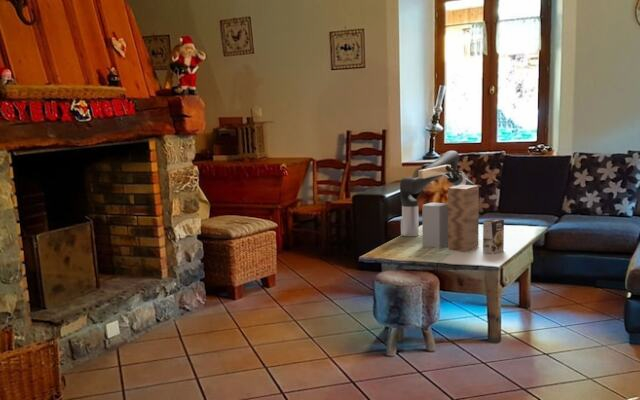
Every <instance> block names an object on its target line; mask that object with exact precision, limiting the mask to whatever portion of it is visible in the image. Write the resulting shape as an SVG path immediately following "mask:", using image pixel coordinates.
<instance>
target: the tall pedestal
mask: <svg viewBox="0 0 640 400" xmlns="http://www.w3.org/2000/svg"><path fill="white" fill-rule="evenodd" d="M476 185H477V184H476ZM476 185H457V186H453V185H452V186H450V187H447V204H448V245H447V250H450V251H454V252H455V251H456V252H462V253H463V252H464V253H467V252H470V251H471V250H474V249H477V248H479V218H480V217H479V215H480V214H479V211H480V210H479V209H480V208H479V206H480V205H479V199H480V198H479V195H480V194H479V192H480V191H479V190H480V187H479V185H477V186H476Z"/></svg>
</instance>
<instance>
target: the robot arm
mask: <svg viewBox="0 0 640 400" xmlns="http://www.w3.org/2000/svg"><path fill="white" fill-rule="evenodd" d="M459 160H460V154H459V153H458V151H456V150H448V151H446V152H444V153H443V154H442V155H441V156H440V157H438V158H437V159H436V160H434V161H433V162H431V163H430V164H428V165H426V166H425V167H424V168H423V169H428V168H433V167H437V166H442V165H446V170H447V171H448V172H449V173H446V174H442V175H438V176H433V177H429V178H425V179H421V178H419V176H417V177H406V176H405V177H402V179H401V180H400V184H399V193H400V202H401V218H400V235H401V236H404V237H417V236H419V232H420V231H419V228H420V227H419V200H418V199H416V198H414V197H413V195H416V194H417V195H418V194H419V193H420V192H421V191H422V190H424V189H425V187H426V186H428V185H429V184H431V183H432V182H434V181H436V179H438V178H440V177H442V176H444V177H445V178H446V179H447V181H448V182H449V184H450V185H452V187H453V186H457V185H476V186H478V185H477V184H476V183H474V182H473V181H471V180H470V179H469V176H467V174H466V173H465V172H464V171H462V170H459V169H458V164H459ZM447 165H451V168H450V167H449V166H447Z"/></svg>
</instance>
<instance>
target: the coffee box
mask: <svg viewBox="0 0 640 400" xmlns="http://www.w3.org/2000/svg"><path fill="white" fill-rule="evenodd" d="M482 222H483V225H482V228H483V229H482V230H483V232H482V233H483V234H482V252H483V253H487V254H491V255H494V254H498V253H502V252H504V249H505V248H504V244H505V243H504V240H505V239H504V238H505V236H504V235H505V231H504V230H505V225H504V224H505V219H501V218H500V219H499V218H491V219H486V220H483V221H482Z"/></svg>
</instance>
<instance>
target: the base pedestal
mask: <svg viewBox="0 0 640 400" xmlns="http://www.w3.org/2000/svg"><path fill="white" fill-rule="evenodd" d="M421 213H422V214H421V215H422V220H421V222H422V223H421V224H422V247H427V248H433V247H434V248H435V249H441V247H442V248H444V247H446V246H447V247H448V203H441V202H429V203H426V204H422V212H421Z"/></svg>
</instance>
